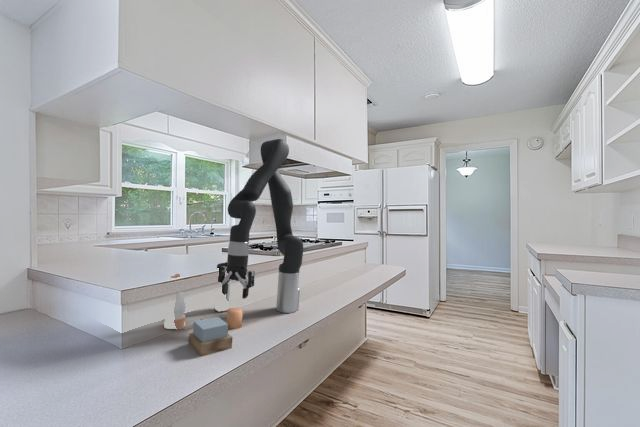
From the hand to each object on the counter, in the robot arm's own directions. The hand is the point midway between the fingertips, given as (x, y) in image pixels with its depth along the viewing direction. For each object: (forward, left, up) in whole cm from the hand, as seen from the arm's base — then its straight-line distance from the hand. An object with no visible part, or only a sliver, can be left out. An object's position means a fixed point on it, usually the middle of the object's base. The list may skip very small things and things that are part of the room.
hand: (234, 296), depth 119 cm
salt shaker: (+18, -11, -12) cm, 24 cm away
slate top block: (+14, +11, -8) cm, 20 cm away
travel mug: (-4, -19, -12) cm, 22 cm away
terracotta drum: (0, 0, -11) cm, 11 cm away
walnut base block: (+14, +11, -12) cm, 21 cm away
